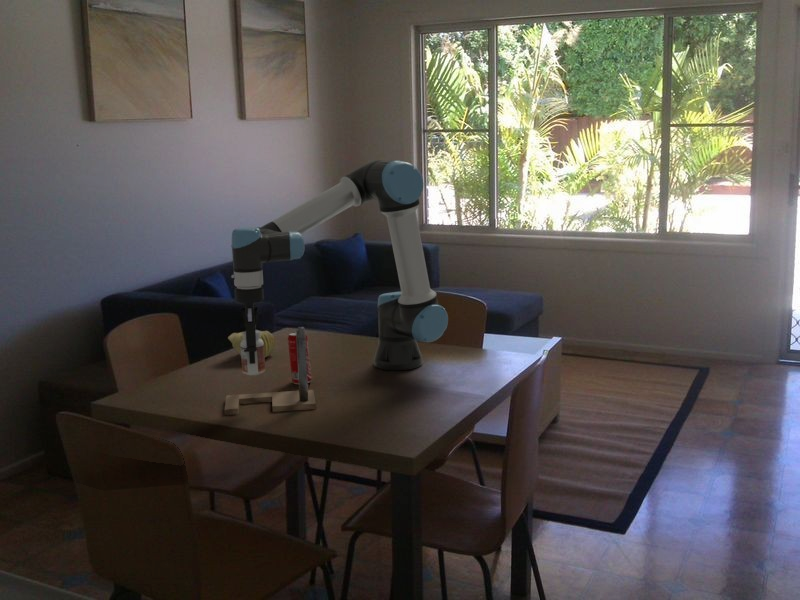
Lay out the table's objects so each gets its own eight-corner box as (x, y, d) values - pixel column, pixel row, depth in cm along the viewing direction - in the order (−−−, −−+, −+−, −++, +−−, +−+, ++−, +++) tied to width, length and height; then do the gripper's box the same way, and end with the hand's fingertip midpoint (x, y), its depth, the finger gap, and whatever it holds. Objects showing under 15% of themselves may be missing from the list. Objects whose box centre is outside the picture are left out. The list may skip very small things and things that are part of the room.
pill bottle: (261, 368, 245) (259, 328, 243) (268, 373, 239) (266, 332, 237) (239, 371, 242) (236, 331, 240) (245, 376, 237) (243, 335, 235)
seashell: (283, 363, 297) (256, 346, 307) (286, 333, 294) (258, 317, 303) (241, 373, 285) (214, 356, 295) (244, 342, 282) (217, 326, 291)
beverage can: (308, 385, 262) (306, 335, 259) (287, 384, 263) (284, 335, 260) (314, 379, 267) (312, 330, 265) (293, 379, 269) (291, 330, 266)
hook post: (308, 404, 244) (304, 321, 240) (309, 413, 237) (305, 328, 232) (299, 404, 244) (295, 322, 240) (300, 413, 236) (296, 328, 232)
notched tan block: (313, 394, 253) (313, 389, 252) (316, 408, 240) (315, 403, 240) (226, 400, 249) (226, 395, 249) (224, 415, 237) (224, 409, 236)
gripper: (235, 281, 245) (240, 363, 249) (233, 293, 226) (238, 381, 231) (263, 280, 246) (267, 361, 250) (263, 292, 227) (267, 380, 232)
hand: (253, 371), depth 241 cm, fingers closed on pill bottle, 6 cm apart
